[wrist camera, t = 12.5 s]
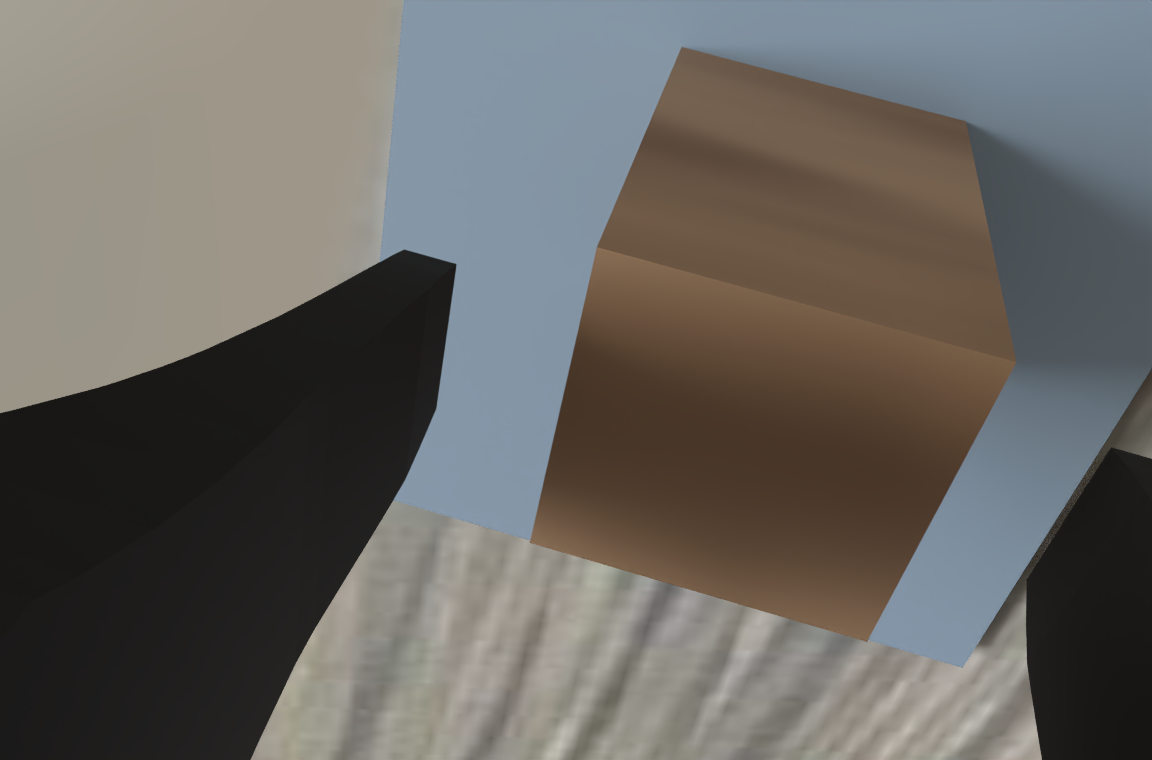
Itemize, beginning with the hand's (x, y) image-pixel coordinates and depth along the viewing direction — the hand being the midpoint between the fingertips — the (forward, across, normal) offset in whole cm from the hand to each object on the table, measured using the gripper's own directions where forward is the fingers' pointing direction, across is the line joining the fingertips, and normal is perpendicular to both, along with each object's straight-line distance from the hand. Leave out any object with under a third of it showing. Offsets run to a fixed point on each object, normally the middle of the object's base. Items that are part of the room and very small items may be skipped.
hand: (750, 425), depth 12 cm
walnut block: (+5, 0, 0) cm, 5 cm away
